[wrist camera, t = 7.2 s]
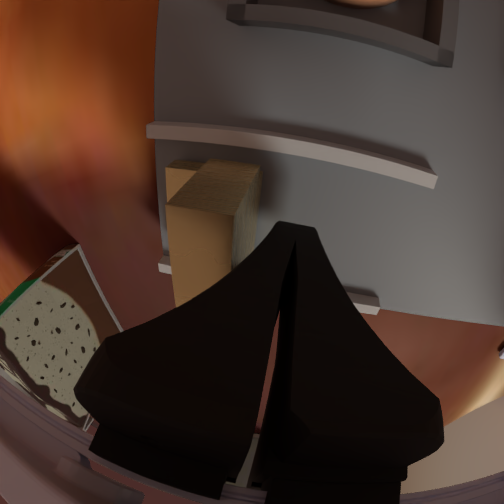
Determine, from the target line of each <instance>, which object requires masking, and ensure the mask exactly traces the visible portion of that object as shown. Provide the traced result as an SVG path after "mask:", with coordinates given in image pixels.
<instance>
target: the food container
mask: <svg viewBox="0 0 504 504" xmlns="http://www.w3.org/2000/svg"><path fill="white" fill-rule="evenodd" d="M120 332H123V329H122V327H121V326H120V324H119V322H118V320H117V319H116V317H115V315H114V313H113V312H112V310H111V308H110V306H109V304H108V302H107V300H106V298H105V297H104V295H103V293H102V291H101V289H100V287H99V285H98V283H97V281H96V279H95V277H94V275H93V273H92V271H91V268H90V266H89V264H88V262H87V260H86V258H85V256H84V253H83V251H82V249H81V246H80V244H69V245H67V246H66V247H64V248H63V249H61V250H60V251H58V252H57V253H56V254H55V255H54V256H52V257H51V258H50V259H49V260H48V261H46V262H45V263H44V264H43V265H42V266H41V267H39V268H38V269H37V270H36V271H35V272H34V273H32V274H31V275H30V276H29V277H28V278H27V279H26V280H25V281H24V282H22V283H21V284H20V285H19V286H18V287H17V288H16V289H15V290H14V291H13V292H12V293H11V294H10V295H8V296H7V297H6V298H5V299H4V300H3V301H2V302H1V303H0V375H1V376H2V377H3V378H5V379H6V380H7V381H8V382H10V383H11V384H12V385H13V386H15V387H16V388H17V389H19V390H20V391H21V392H23V393H24V394H26V395H27V396H28V397H30V398H31V399H33V400H34V401H36V402H37V403H39V404H40V405H42V406H43V407H45V408H46V409H48V410H49V411H51V412H52V413H54V414H56V415H57V416H59V417H60V418H62V419H64V420H66V421H67V422H69V423H71V424H72V425H74V426H76V427H78V428H80V429H81V430H83V431H85V432H86V430H87V429H88V427H89V426H90V424H91V423H92V421H93V420H94V419H93V418H91V417H89V416H90V414H89V413H88V412H87V411H86V410H85V409H84V407H83V406H82V405H81V404H80V403H79V402H78V401H77V399H76V397H75V394H74V390H73V389H74V387H75V385H76V383H77V381H78V380H79V378H80V376H81V374H82V372H83V371H84V369H85V367H86V365H87V364H88V362H89V360H90V359H91V357H92V356H93V354H94V352H95V351H96V350H97V349H98V347H99V346H100V345H101V344H102V342H103V341H104V339H105V338H106V337H109V336H112V335H115V334H117V333H120Z"/></svg>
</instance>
